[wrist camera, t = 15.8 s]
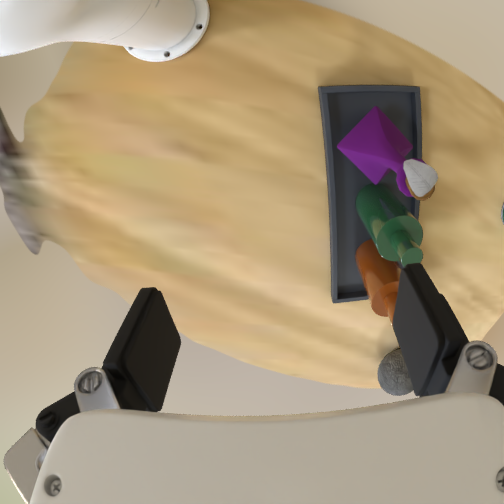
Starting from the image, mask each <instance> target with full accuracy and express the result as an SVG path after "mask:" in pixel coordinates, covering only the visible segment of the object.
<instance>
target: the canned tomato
mask: <svg viewBox="0 0 504 504" xmlns="http://www.w3.org/2000/svg"><path fill="white" fill-rule="evenodd" d="M501 218H502V222H503V224H504V204H503V206H502V212H501Z"/></svg>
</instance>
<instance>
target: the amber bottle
mask: <svg viewBox="0 0 504 504" xmlns="http://www.w3.org/2000/svg"><path fill="white" fill-rule="evenodd" d="M355 262H356V265H357V267H358V270H359V273H360V275H361V278H362V281H363V284H364V287H365V289H366V292H367V295H368V298H369V301H370V304H371V307H372V309H373V311H374V312H375V313H376V314H378V315H380V316H384V317H389V319H390V322H391V324H392V326H393V316H394V310H395V305H396V299H397V292H398V286H399V279H400V272H401V267H400V265H399V263H398V261H389V260H386V259H385V258H383V257H382V256H381V255H380V254H379V252H378V250H377V248H376V246H375V244H374V242H373V241H372V239H370V240H367V241H365V242H364V243H362V244H361V245H360V246H359V247H358V249H357V251H356V253H355Z"/></svg>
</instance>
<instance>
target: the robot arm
mask: <svg viewBox="0 0 504 504" xmlns="http://www.w3.org/2000/svg"><path fill="white" fill-rule="evenodd" d="M209 17H210V10H209V5H208V1H207V0H0V56H7V55H13V54H18V53H23V52H26V51H30V50H33V49H37V48H40V47H43V46H46V45H50V44H52V43H57V42H63V41H83V42H93V43H103V44H112V45H119V46H124V47H125V48H126V50H127V51H128V52H129V53H131V54H132V55H133V56H135V57H137V58H139V59H141V60H146V61H152V62H161V61H168V60H172V59H175V58H177V57H179V56H182V55H183V54H185V53H186V52H188V51H189V50H191V49H192V48H193V47H194V46H195V45H196V44H197V43H198V42H199V41H200V39H201V38H202V36H203V35H204V33H205V31H206V29H207V26H208V23H209ZM200 26H202V29H199V27H200ZM132 47H133V48H132ZM168 53H170V56H168ZM393 329H394V332H395V335H396V337H397V340H398V343H399V346H400V349H401V352H402V355H403V358H404V361H405V364H406V367H407V370H408V373H409V377H410V380H411V383H412V386H413V390H414V393H415V395H416V396H420V397H419V398H415V399H409V400H404V401H398V402H393V403H387V404H380V405H374V406H368V407H361V408H354V409H346V410H338V411H330V412H319V413H306V414H292V415H272V416H206V415H186V414H172V413H159V412H158V411H160V410H161V409H162V406H163V402H164V399H165V395H166V392H167V389H168V385H169V382H170V378H171V375H172V372H173V368H174V365H175V362H176V358H177V355H178V352H179V349H180V345H181V339H180V336H179V333H178V331H177V329H176V326H175V324H174V322H173V319H172V317H171V315H170V312H169V310H168V307H167V305H166V302H165V300H164V297H163V295H162V293H161V291H158V290H157V289H156V288H155V287H151V288H142V289H141V290H140V291H139V293H138V295H137V297H136V299H135V301H134V302H133V304H132V306H131V308H130V310H129V312H128V314H127V316H126V318H125V320H124V322H123V323H122V326H121V327H120V329H119V331H118V333H117V336H116V337H115V339H114V341H113V343H112V345H111V347H110V349H109V351H108V353H107V355H106V358H105V359H104V362H103V366H102V368H98V367H91V368H88V369H86V370H84V371H83V372H81V373H80V374H79V375H78V377H77V378H76V380H75V383H74V390H75V391H74V392H72V393H71V394H69V395H67V396H66V397H64V398H62V399H60V400H59V401H57V402H55V403H53V404H52V405H50V406H48V407H47V408H45V409H43V410H42V411H41V412H40V414H39V415H38V417H37V419H36V429H33V428H31V429H30V430H28V431H27V432H26V433H25V434H24V436H22V437H21V438H20V439H19V440H18V441H17V442H16V443H15V444H14V445H13V446H12V447H11V448H10V449H9V450H8V451H7V453H6V454H5V457H4V466H5V469H6V470H7V472H8V474H9V476H10V478H11V479H12V481H13V483H14V485H15V486H16V488H17V490H18V491H19V493H20V495H21V496H22V498H23V500H24V501H25V503H26V504H504V366H502V365H500V364H498V363H497V354H496V352H495V350H494V349H493V348H492V347H491V346H490V345H489V344H487V343H485V342H483V341H471V342H469V341H468V339H467V337H466V335H465V333H464V331H463V329H462V327H461V325H460V324H459V322H458V320H457V318H456V316H455V314H454V313H453V311H452V309H451V307H450V306H449V304H448V302H447V300H446V299H445V297H444V296H443V295H442V294H439V292H438V290H437V289H436V287H435V285H434V284H433V282H432V280H431V279H430V277H429V275H428V274H427V272H426V271H425V269H424V267H423V266H422V264H421V263H412V264H406V265H405V268H402V269H401V272H400V279H399V286H398V292H397V299H396V305H395V310H394V316H393Z"/></svg>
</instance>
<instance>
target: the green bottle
mask: <svg viewBox="0 0 504 504" xmlns="http://www.w3.org/2000/svg"><path fill="white" fill-rule="evenodd" d="M355 207H356V211H357V213H358V215H359V216H360V218H361V220H362V222H363V224H364V225H365V227H366V229H367V231H368V233H369V235H370V237H371V239H372V241H373V242H374V244H375V246H376V248H377V250H378V252H379V254H380V255H381V256H382V257H383V258H385V259H386V260H389V261H400V262H401V263H402V265H403V266H404V267H405V265H406V264H412V263H421V261H422V259H423V252H422V250H421V249H420V245H421V242H422V238H423V231H422V227H421V225H420V223H419V222H418V221H417V219H416V218H415V217H414V216H413V215H412V214H411V212H410V211H409V210H408V209H407V208H406V207H405V206H404V204H403V203H402V202H401V201H400V200H399V199H398V198H397V197H396V196H395V194H394V193H393V192H392V191H391V190H390V189H389V188H388V187H387V186H385V185H383V184H381V183H378V184H377V185H375V184H374V183H371V184H368V185H366V186H365V187H363V188H362V189H361V190H360V191H359V193H358V194H357V197H356V200H355Z"/></svg>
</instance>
